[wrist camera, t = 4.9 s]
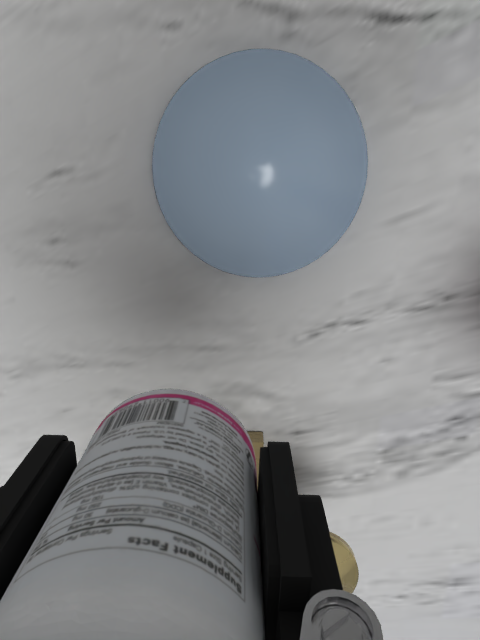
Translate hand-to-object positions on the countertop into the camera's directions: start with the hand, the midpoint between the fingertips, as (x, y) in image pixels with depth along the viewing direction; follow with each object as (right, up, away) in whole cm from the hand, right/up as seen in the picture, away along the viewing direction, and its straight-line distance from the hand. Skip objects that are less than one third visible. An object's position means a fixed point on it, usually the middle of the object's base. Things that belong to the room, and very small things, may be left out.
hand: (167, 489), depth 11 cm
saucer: (+3, +12, +12) cm, 17 cm away
